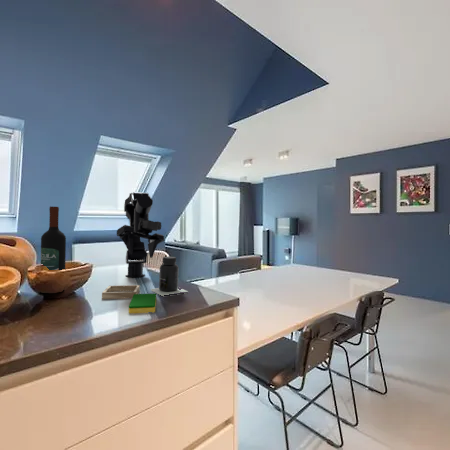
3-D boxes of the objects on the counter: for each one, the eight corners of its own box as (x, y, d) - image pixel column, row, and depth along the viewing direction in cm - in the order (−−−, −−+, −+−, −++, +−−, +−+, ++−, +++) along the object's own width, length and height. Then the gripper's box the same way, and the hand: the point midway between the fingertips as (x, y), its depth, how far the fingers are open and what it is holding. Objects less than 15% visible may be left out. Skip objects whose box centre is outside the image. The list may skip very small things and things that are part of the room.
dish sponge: (128, 315, 80) (128, 306, 80) (133, 301, 93) (133, 293, 93) (154, 313, 81) (154, 305, 81) (156, 300, 95) (156, 293, 95)
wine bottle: (69, 291, 103) (70, 207, 102) (46, 295, 96) (48, 205, 96) (58, 288, 107) (59, 207, 106) (35, 291, 100) (37, 206, 100)
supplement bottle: (156, 291, 102) (157, 258, 101) (161, 287, 108) (162, 255, 108) (175, 292, 101) (176, 258, 101) (179, 288, 108) (180, 256, 108)
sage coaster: (151, 290, 106) (151, 288, 106) (175, 287, 112) (175, 285, 112) (161, 296, 98) (161, 294, 98) (187, 293, 104) (187, 291, 104)
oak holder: (109, 291, 104) (109, 285, 104) (139, 290, 105) (139, 285, 105) (101, 299, 93) (101, 292, 93) (135, 298, 95) (135, 292, 95)
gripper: (132, 205, 106) (132, 244, 100) (171, 218, 120) (173, 253, 114) (116, 216, 113) (115, 253, 106) (155, 227, 126) (156, 261, 120)
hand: (141, 255), depth 111 cm, fingers open, 9 cm apart
